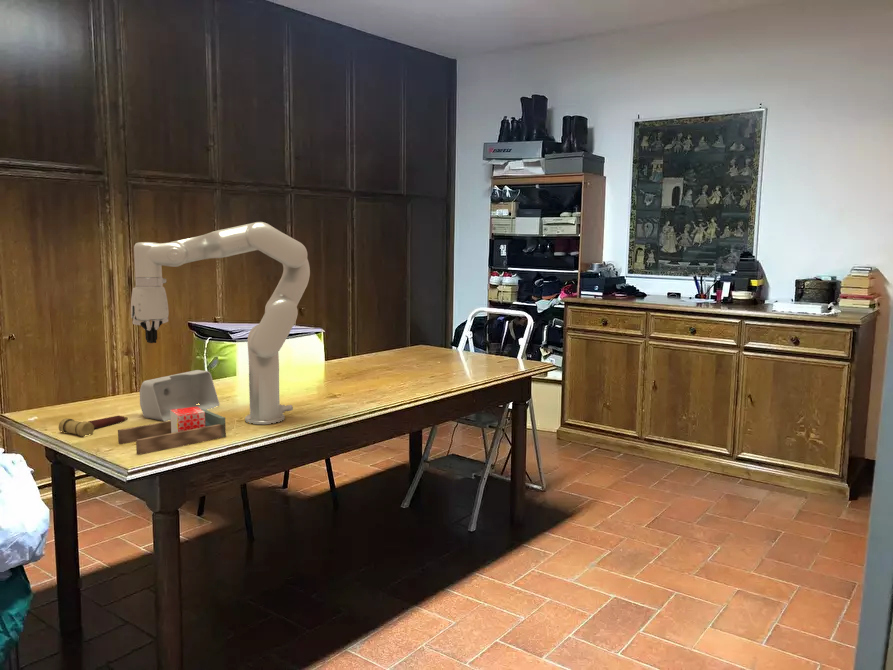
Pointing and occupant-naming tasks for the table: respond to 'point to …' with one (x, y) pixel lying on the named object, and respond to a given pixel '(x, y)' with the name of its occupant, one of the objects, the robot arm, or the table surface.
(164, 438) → the crate bay
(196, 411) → the red patterned cube
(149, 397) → the grey open box shell
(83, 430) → the gavel
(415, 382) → the table surface
